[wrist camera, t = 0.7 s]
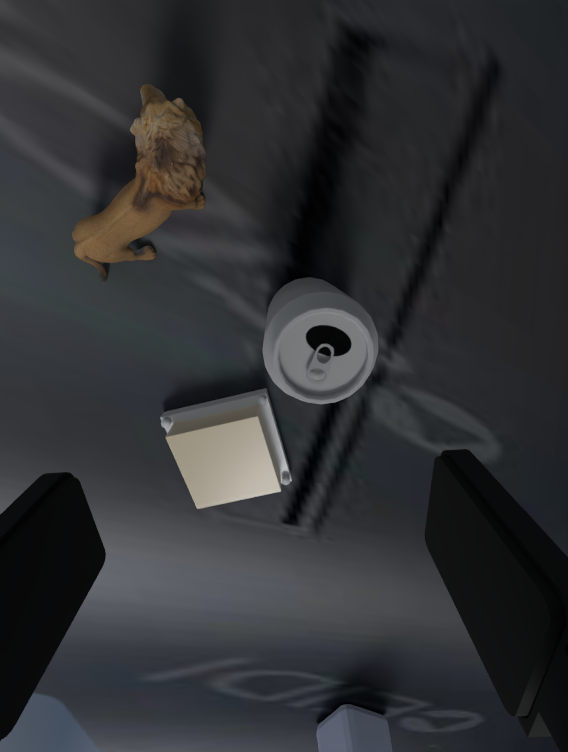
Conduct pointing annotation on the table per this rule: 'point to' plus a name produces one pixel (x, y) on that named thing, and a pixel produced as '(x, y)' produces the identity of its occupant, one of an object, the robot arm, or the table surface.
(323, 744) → the soap bottle
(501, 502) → the robot arm
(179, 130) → the lion figurine
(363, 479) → the table surface
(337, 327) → the can
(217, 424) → the tower base
